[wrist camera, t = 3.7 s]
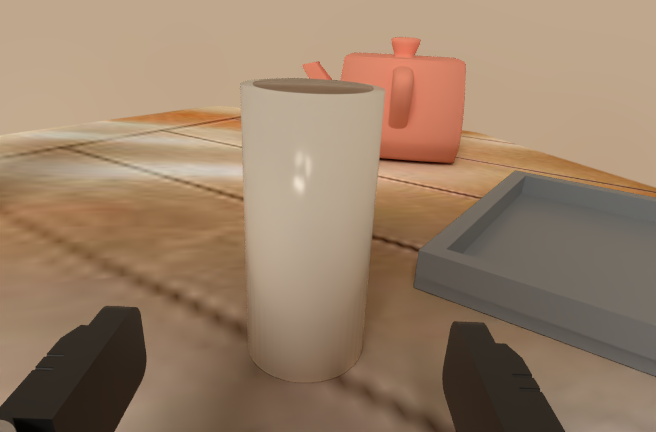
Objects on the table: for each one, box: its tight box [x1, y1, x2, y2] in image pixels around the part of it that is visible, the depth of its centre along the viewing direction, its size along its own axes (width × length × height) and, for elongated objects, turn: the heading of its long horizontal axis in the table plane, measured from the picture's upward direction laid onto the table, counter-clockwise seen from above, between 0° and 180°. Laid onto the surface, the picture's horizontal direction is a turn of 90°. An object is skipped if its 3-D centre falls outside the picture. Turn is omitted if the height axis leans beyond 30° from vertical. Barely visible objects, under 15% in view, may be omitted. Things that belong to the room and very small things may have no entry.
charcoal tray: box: [414, 171, 656, 376], centre depth 29 cm, size 22×22×2 cm
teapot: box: [303, 37, 466, 163], centre depth 56 cm, size 20×22×14 cm
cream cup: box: [240, 78, 385, 383], centre depth 19 cm, size 6×6×12 cm
